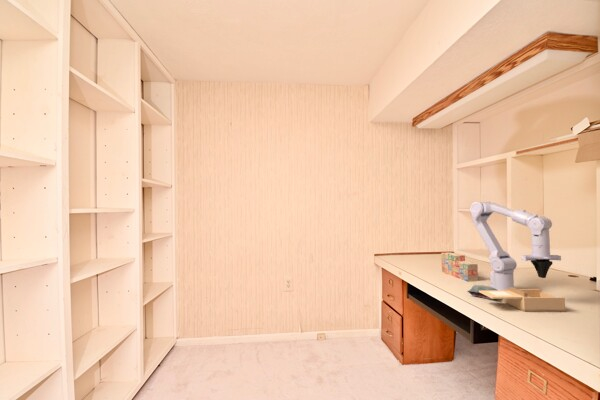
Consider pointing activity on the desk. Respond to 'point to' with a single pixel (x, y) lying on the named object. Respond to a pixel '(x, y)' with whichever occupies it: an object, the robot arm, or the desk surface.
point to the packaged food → (477, 288)
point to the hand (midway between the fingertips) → (542, 277)
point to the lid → (505, 294)
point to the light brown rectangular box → (538, 302)
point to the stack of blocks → (459, 266)
